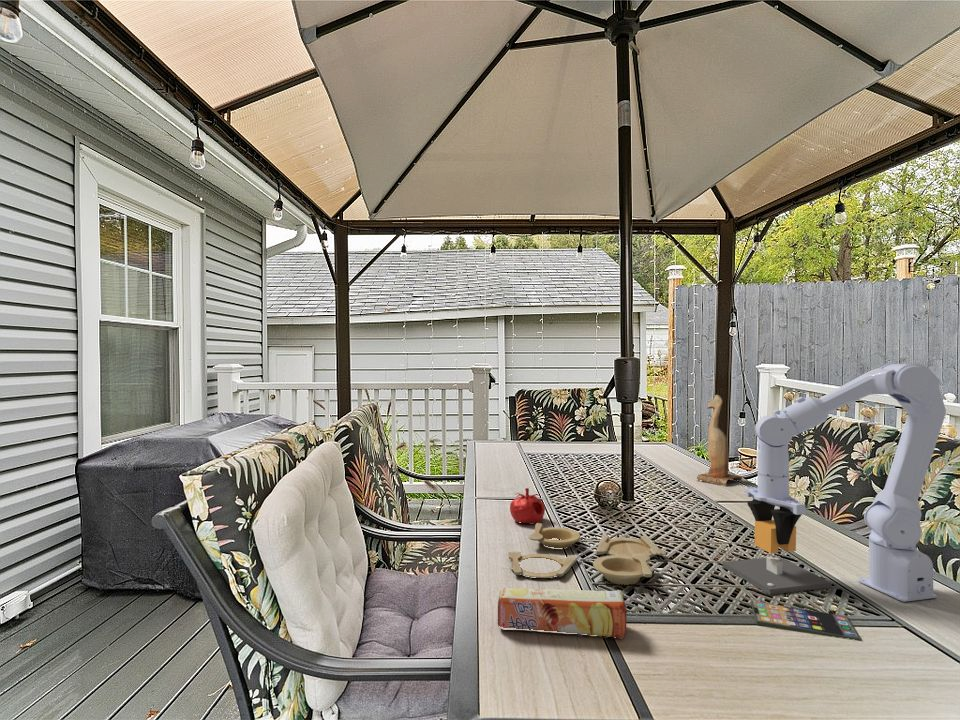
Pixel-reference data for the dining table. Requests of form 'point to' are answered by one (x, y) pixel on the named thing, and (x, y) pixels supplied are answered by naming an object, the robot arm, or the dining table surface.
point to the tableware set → (617, 567)
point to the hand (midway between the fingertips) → (773, 539)
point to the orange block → (771, 537)
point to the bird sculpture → (717, 449)
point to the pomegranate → (527, 508)
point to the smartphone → (803, 620)
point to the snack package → (563, 611)
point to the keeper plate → (776, 575)
